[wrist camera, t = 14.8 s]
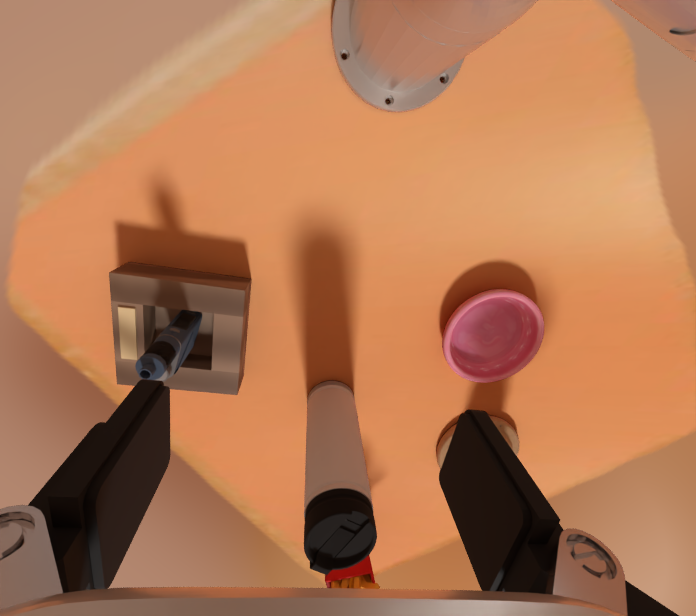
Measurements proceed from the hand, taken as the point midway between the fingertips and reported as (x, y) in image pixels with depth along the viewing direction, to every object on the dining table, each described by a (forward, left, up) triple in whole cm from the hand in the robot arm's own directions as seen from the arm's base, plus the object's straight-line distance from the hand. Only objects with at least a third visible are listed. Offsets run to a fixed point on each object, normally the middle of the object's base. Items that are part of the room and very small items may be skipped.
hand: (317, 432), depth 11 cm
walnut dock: (+12, -13, -30) cm, 35 cm away
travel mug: (+21, +5, -31) cm, 37 cm away
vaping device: (+12, -13, -30) cm, 34 cm away
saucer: (+8, +23, -31) cm, 39 cm away
